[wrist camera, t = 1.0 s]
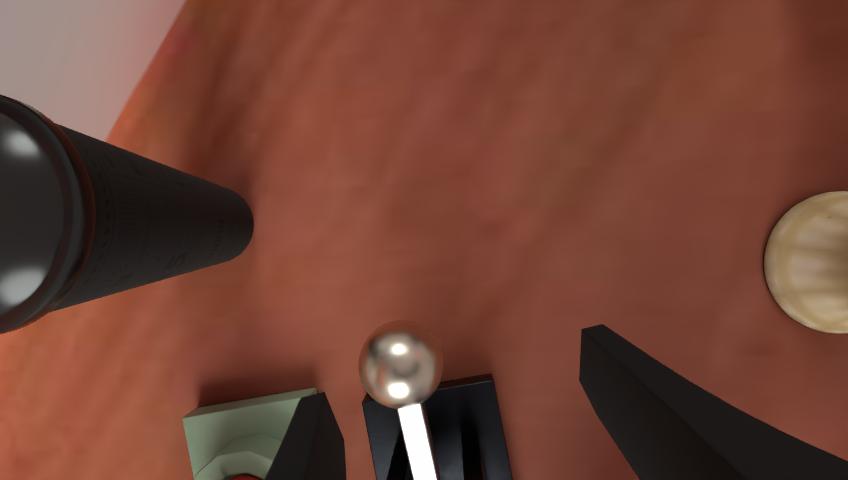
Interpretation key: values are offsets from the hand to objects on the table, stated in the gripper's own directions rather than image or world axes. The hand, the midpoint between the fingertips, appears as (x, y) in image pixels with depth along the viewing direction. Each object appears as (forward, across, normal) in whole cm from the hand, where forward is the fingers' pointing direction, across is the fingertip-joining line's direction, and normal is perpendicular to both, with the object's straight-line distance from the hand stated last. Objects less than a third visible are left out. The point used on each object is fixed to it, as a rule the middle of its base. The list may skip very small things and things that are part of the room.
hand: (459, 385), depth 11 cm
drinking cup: (+18, +12, +1) cm, 21 cm away
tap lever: (+5, +2, +8) cm, 10 cm away
